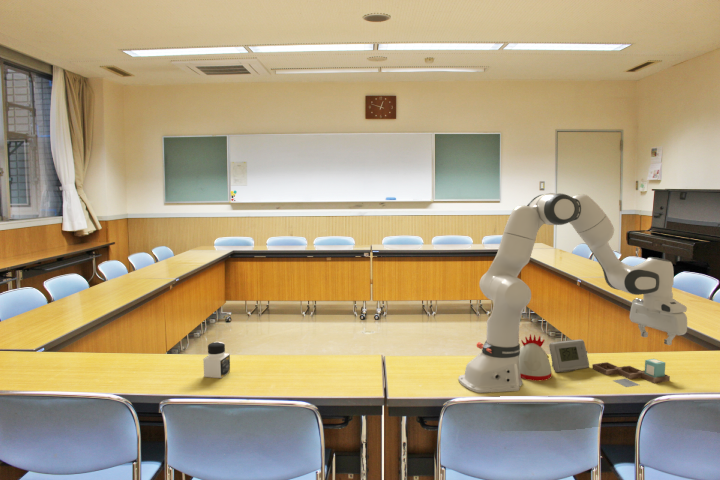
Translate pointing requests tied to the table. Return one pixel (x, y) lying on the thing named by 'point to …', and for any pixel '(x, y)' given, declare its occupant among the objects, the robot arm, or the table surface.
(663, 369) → the teal rectangular block
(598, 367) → the box
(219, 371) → the medicine bottle
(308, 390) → the table surface
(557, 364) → the digital clock
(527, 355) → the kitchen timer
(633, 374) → the box
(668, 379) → the box
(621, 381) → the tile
